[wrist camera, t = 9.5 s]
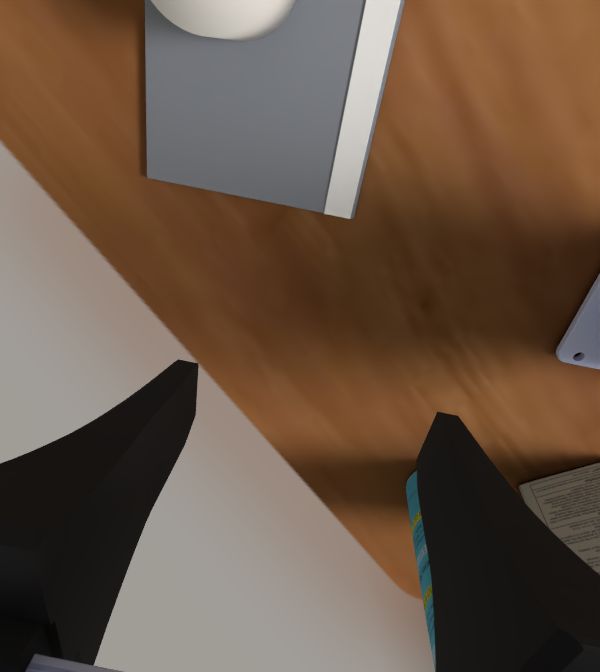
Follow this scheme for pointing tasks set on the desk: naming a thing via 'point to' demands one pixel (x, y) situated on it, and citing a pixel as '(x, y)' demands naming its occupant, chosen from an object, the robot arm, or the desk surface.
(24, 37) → the desk surface
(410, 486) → the tube
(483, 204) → the desk surface
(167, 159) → the gray book
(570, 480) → the skincare box
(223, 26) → the white tapered cylinder
